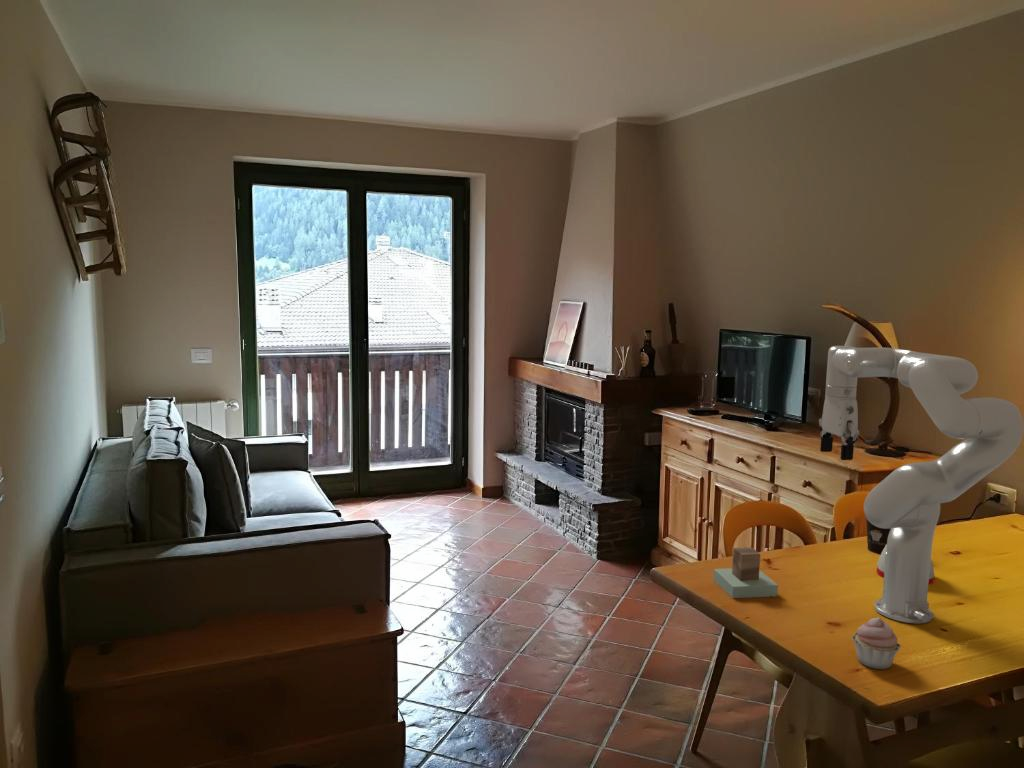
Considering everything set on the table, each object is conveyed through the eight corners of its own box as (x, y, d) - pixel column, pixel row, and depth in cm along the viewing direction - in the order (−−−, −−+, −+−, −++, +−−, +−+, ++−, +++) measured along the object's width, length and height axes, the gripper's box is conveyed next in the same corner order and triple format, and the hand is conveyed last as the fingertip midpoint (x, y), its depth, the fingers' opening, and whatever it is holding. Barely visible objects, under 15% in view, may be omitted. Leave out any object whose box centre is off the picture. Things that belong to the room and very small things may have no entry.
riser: (777, 596, 191) (777, 584, 191) (732, 598, 189) (732, 586, 189) (755, 578, 203) (756, 567, 202) (713, 579, 201) (713, 569, 201)
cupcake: (885, 678, 151) (889, 631, 150) (841, 659, 159) (844, 614, 157) (908, 665, 157) (912, 620, 155) (865, 648, 164) (868, 604, 163)
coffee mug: (857, 547, 229) (859, 515, 228) (880, 544, 231) (882, 513, 230) (886, 560, 218) (889, 527, 217) (910, 557, 220) (913, 524, 219)
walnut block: (758, 580, 194) (760, 553, 193) (740, 580, 193) (741, 554, 192) (749, 572, 199) (751, 547, 198) (731, 573, 198) (733, 547, 197)
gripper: (873, 397, 192) (868, 463, 194) (835, 388, 209) (831, 448, 211) (846, 397, 191) (841, 463, 193) (810, 388, 208) (806, 448, 210)
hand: (836, 455), depth 202 cm, fingers open, 9 cm apart
